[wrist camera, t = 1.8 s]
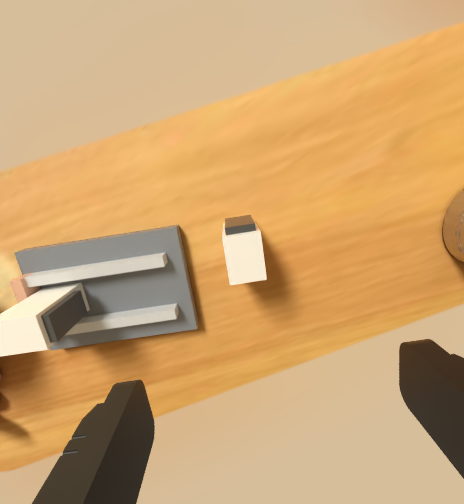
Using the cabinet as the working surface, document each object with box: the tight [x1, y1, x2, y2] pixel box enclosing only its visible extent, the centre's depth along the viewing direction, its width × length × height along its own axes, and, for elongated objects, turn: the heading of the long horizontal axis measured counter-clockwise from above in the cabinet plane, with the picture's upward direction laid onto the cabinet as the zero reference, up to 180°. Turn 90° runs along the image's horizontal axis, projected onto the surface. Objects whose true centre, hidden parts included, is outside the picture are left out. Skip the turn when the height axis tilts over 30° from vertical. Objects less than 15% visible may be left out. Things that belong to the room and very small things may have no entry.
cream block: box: [222, 215, 267, 285], centre depth 25 cm, size 5×3×7 cm, turn 9°
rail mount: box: [0, 225, 199, 357], centre depth 26 cm, size 16×11×8 cm
